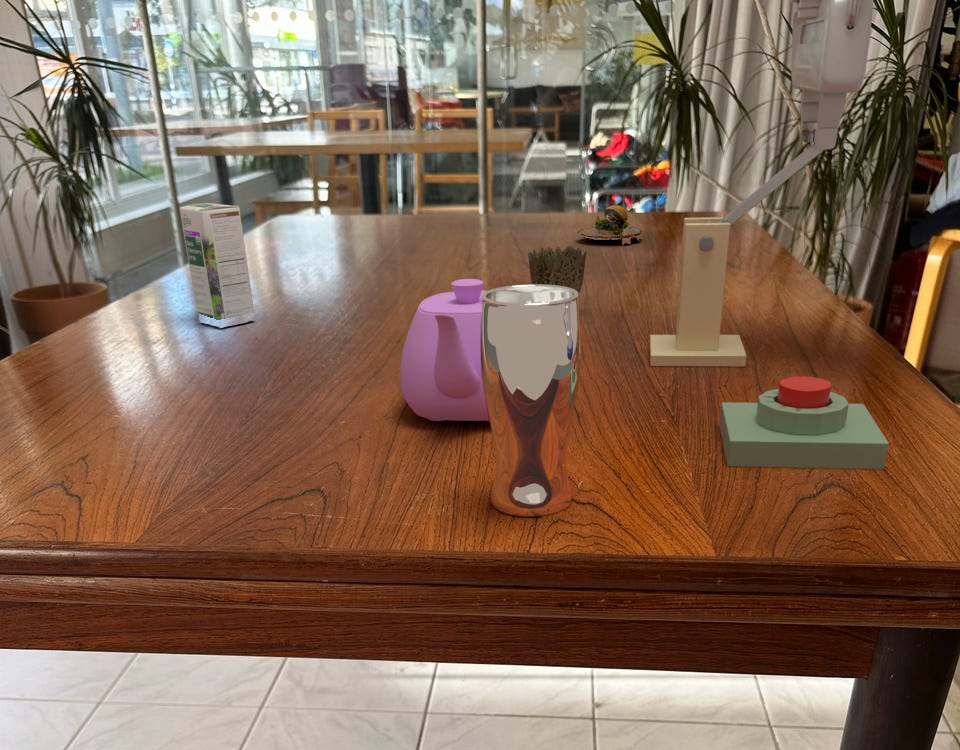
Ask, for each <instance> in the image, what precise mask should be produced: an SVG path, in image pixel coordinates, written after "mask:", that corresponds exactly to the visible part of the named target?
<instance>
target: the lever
mask: <svg viewBox="0 0 960 750" xmlns="http://www.w3.org/2000/svg"><path fill="white" fill-rule="evenodd" d="M838 145H839V137H838V136H837V138H836V144H835V146H834V148H832V149H824V150H819V149H817V148H815V147H814V143H812V144H811V145H810V146H809V147H808V148H806V149H805V150H804V151H803V152H802V153H800V154H798V156H797V157H795V158H794V159H792V160H791V161H790V162H789V163H788V164H786V166H784V167H783V168H782V169H780V170H779V171H778V172H776V174H775V175H773V176H772V177H771V178H770V179H768V180H767V181H766V182H764V183H763V184H762V185H761V186H760V187H758V188H757V189H756V190H755V191H753V193H751V194H749V196H747V197H746V198H745V199H744V200H743V201H741V202H740V203H739V204H738V205H736V206H735V207H734V208H732V210H730V211H729V212H728V213H727V214H725V215H724V216H722V217H723V218H722V219H721V220H720V221H718V222H717V223H730V227H732V225H734V224H735V223H736V222H738V221H739V220H740V219H742V217H744V216H745V215H746V214H747V213H749V212H750V211H751V210H752V209H754V208H755V207H756V206H758V204H760V203H761V202H762V201H763V200H764V199H766V198H767V197H768V196H770V195H771V194H772V193H773V192H774V191H775V190H777V189H778V188H780V187H781V186H782V185H783V184H784V183H785V182H787V181H788V180H789V179H790V178H792V177H793V176H794V175H795V174H797V173H798V172H799V171H801V170H802V169H803V168H804V167H805V166H807V165H808V164H809V163H810V162H812V161H813V160H814V159H816V158H817V157H818V156H819V155H820V154H821V153H822V152H824V151H828V152H830V151H831V152H832V151H834V150H835V149H836V148H837V147H838ZM705 223H712V222H711V221H710V220H708V221H706V222H705Z"/></svg>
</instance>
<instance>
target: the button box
mask: <svg viewBox="0 0 960 750" xmlns="http://www.w3.org/2000/svg"><path fill="white" fill-rule="evenodd" d="M778 391H779V388H775V389H769V390H766V391H765V392H763V393H762V394H759V395H758V397H757V402H732V401H731V402H727V401H726V402H725V401H724V402H721V404H720V413H719V423H718V428H719V433H720V436H721V441H722V447H723V451H724V457H725V461H726V466H727V467H743V468H745V467H748V468H790V469H791V468H797V469H845V470H847V469H848V470H850V469H851V470H884V469H885V466H886V460H887V456H888V450H889V446H890V443H889V441H888V440H887V438H886V436H885V435H884V433H883V432H882V431H881V428H880V427H879V425H878V424H877V422H876V421H875V419H874V418H873V416H872V414H871V413H870V412H869V410H868V408H867V407H866V405H865V404H864V403H849V402H848V400H847V399H846V397H845V396H843V395H841V394H838V393H836V392H833V391H831V390H830V397H829V403H828V406H827V407H822V408H816V409H799V408H793V407H787V406H783V405H781V404H779V403H777V399H778Z"/></svg>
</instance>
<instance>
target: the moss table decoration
mask: <svg viewBox="0 0 960 750" xmlns="http://www.w3.org/2000/svg"><path fill="white" fill-rule="evenodd" d="M623 198H624V197H622V198H621V201H620V203H619V205H618V204H617V205H616V204H614V205H609V206H608V207H606V208H605V210H604V212H603V214H604V217H605V219H602V218H600V217H599V215H597V216H596V219H595V221H594V222H593V224H592V225H593V227H592V228H596V230H597V233H598V234H601V235H617V236H611V237H603V236H588V237H595V238H606V239H607V238H610V239H612V238H621V239H622V238H629V237H633V236H637V235H640V234H641V233H642V234H643V231H642V229H640V228H638V227H634V226H633V227H632V226H630V222H628V219H629V214H628V212H627V210H626V209H625V208H624V207H623V206H621V204H622V201H623ZM589 228H590V227H587V228H583V229H579V230H578V231H577V234H579V232H580V231H582V230H584V229H589ZM626 228H627V229H633V230H636V231H638V232H639V233H636V234H630V235H625V236H623V235H622V232H623V230H624V229H626ZM581 235H583V236H587V235H584V234H581ZM581 235H580V236H581ZM618 235H619V236H618ZM633 238H634V237H633Z"/></svg>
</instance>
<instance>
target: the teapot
mask: <svg viewBox="0 0 960 750" xmlns="http://www.w3.org/2000/svg"><path fill="white" fill-rule="evenodd" d="M483 287H484V281H483V280H481V279H477V278H460V279H456V280H454V281H452V282H451V288H452V291H448V292H442V293H441V292H440V293H437V294H434V295H431V296H428V297H427V298H425V299H424V300H422V301H421V302H420V304H419V305H418V307H417V309H416V311H415V313H414V316H413V318H412V321H411V324H410V326H409V328H408V329H409V330H408V332H407V335H406V338H405V341H404V345H403V349H402V353H401V360H400V367H399V388H400V391H401V395H402V397H403V399H404V400H405V401H406V403H407V405H408V406H409V407H410V409H411V410H412V411H413V412H414V414H416V415H417V416H418V417H421V418H423V419H424V418H425V419H427V420H429V421H432V422H442V421H444V422H445V421H458V422H459V421H461V422H463V421H464V422H468V421H469V422H472V421H473V422H475V421H477V422H479V421H481V422H483V421H485V422H488V423H490V421H489V416H488V411H487V406H486V401H485V396H484V390H483V383H482V377H481V362H480V330H481V310H482V298H481V296H482V294H483V293H484V292H486V291H487V290H485V289H483Z"/></svg>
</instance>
